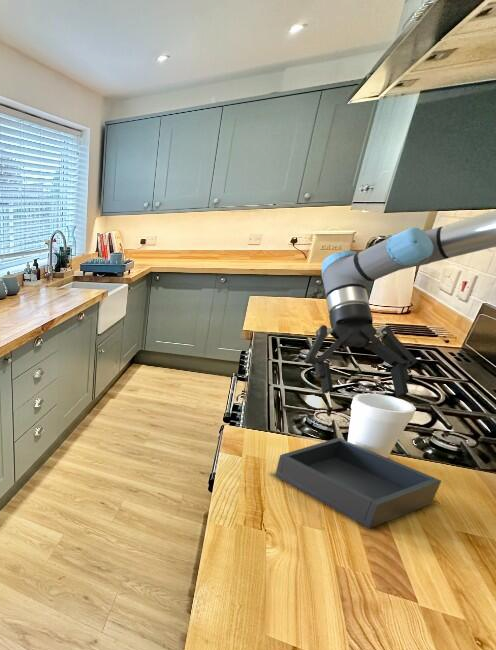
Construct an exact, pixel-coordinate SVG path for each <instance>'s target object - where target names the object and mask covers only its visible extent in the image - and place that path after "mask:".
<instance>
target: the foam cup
mask: <svg viewBox="0 0 496 650" xmlns="http://www.w3.org/2000/svg"><path fill="white" fill-rule="evenodd" d="M350 410H351V411H350V417H349V426H348V434H347V442H350V443H352V444H355V445H357V446H359V447H362V448H364V449H367V450H369V451H371V452H374V453H376V454H379V455H381V456H384V457H386V458H389V456H390V455H391V453H392V451H393V449H394V448H395V446H396V445H397V442H398V441H399V439H400V437H401V436H402V434H403V432H404V431H405V429H406V427H407V425H408V424H409V423H410V422H411V421H412V420H413V418H414V415H415V412H416V410H417V408H416V407H415V405H414V404H413V403H411V402H408V401H407V400H404V399H401V398H399V397H396V396H395V397H394V396H392V395H386V394H381V393H369V392H368V393H357V394H356V395H354V396H353V397H352V401H351V404H350Z"/></svg>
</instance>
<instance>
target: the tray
mask: <svg viewBox="0 0 496 650" xmlns="http://www.w3.org/2000/svg"><path fill="white" fill-rule="evenodd" d="M274 476H275V477H276V478H278V479H280V480H282V481H284V482H286V483H287V484H289V485H291V486H293V487H295V488H296V489H298V490H300V491H302V492H303V493H305V494H307V495H309V496H311V497H313V498H314V499H316V500H318V501H320V502H322V503H323V504H324V505H327V506H328V507H330V508H332V509H334V510H336V511H337V512H339V513H341V514H343V515H345V516H346V517H348V518H350V519H351V520H353V521H355V522H356V523H359V524H360V525H363V526H364V527H366V528H367V529H372V528H374V527H377V526H380V525H382V524H384V523H387V522H389V521H392V520H394V519H397V518H399V517H401V516H404V515H407V514H409V513H412V512H414V511H416V510H419V509H421V508H424V507H425V506H429V505H431V504H433V501H434V499H435V497H436V495H437V492H438V490H439V488H440V486H441V483H442V480H441V479H438V478H436V477H434V476H432V475H429V474H427V473H424V472H422V471H420V470H417V469H414V468H412V467H410V466H407V465H405V464H403V463H400V462H398V461H395V460H393V459H390V458H389V457H387V458H386V457H384V456H381V455H379V454H376V453H374V452H371V451H369V450H367V449H364V448H362V447H359V446H357V445H355V444H352V443H350V442H348V440H345V439H343V438H340V437H335V438H332V439H329V440H327V441H322V442H319V443H316V444H311V445H309V446H306V447H303V448H299V449H296V450H293V451H289V452H286V453H282V454H280V455H279V458H278V462H277V466H276V470H275V474H274Z"/></svg>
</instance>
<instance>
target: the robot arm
mask: <svg viewBox="0 0 496 650" xmlns="http://www.w3.org/2000/svg"><path fill="white" fill-rule="evenodd" d="M493 248H496V210H492V211H489V212H486V213H483V214H482V213H481V214H479V215H476V216H472V217H469V218H466V219H463V220H459V221H456V222H452V223H448V224H445V225H442V226H439V227H438V226H437V227H435V228H431V229H428V230H425V231H424V230H423V229H420V227H415V226H413V227H409V228H407V229H405V230H402V231H400V232H398V233H397V232H396V233H395V234H393V235H391V236H389V237H388V238H386V239H384V240H381V241H380V242H378V243H376V244H374V245H371V246H370V247H368V248H366V249H364V250H362V251H360V252H357V251H354V250H341V251H340V252H334V253H332V254H330V255H329V256H327V257H326V258H325V259H324V260H323V261H322V263H321V279H322V283H323V287H324V292H325V300H326V305H327V312H328V318H329V324H330V327H328V326H327V325H325V324H322V325H320V327H318V328H317V330H316V331H315V339H314V341H313V342H312V345H311V346H310V349H309V350H308V352H307V355H306V357H305V358H304V360H303V362H304V363H305V364H306V365H307V364H311V367H312V368H314V369H315V376H316V378H317V379H320V381H321V389H322V393H323V394H328V393H329V392H332V390H334V385H333V380H332V373H331V372H332V371H331V366H330V362H329V361H327V359H328V358H329V357H330V356H331V355H332V354H333V353H335V351H336V350H337V349H338V348H339V347H340V346H344V347H345V348H350V347H354V348H362V347H363V348H365V350H368V351H371V352H372V353H373V354H375V355H376V356H378V357H379V358H380V359H381V360H383V361H384V362H385V363H386V364H388V365H389V366H390V367H391V369H390V370H389V371H390V376H391V380H392V384H393V389H394V394H395V398H401V397H403V396H405V395H407V394H409V392H410V391H409V388H408V383H407V381H409V380H410V375H409V369H408V368H410V367H412V366H413V365H414V364H416V363H418V359H417V358H416V357H415V356H414V355H413V354H412V352H411V351H410V350H409V349H408V348H407V347H406V346H405V345H404V344H403V343H402V342H401V341H400V340H399V339H398V337H397V336H395V334H394V332H393V329H392V327H391V326H389V325H387V326H385V327H383V328H375V326H374V325H373V322H374V320H373V315H372V310H371V307H370V305H371V304H370V300H369V296H368V295H369V294H368V291H367V285H368V284H369V283H371V282H374V281H376V280H378V279H380V278H383V277H386V276H388V275H391V274H393V273H397V272H398V271H402V270H406V269H410V268H414V267H420V266H425V265H429V264H431V263H435V262H436V263H437V262H440V261H444V260H447V259H450V258H455V257H459V256H463V255H468V254H472V253H476V252H480V251H484V250H488V249H493ZM329 335H331V337H332V338H333V339H334V340H335V341H334V342H333V343H332V344H331V345H330V346H329V347H328V348H327V349H326V350H325V351H324V352H323V353H322V354H321V355H320V356H319V357H318V356H317V355H318V353H319V351H320V349H321V348H322V345H323V344H324V342H325V339H326V338H327V337H328V336H329ZM370 342H371V343H370Z"/></svg>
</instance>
